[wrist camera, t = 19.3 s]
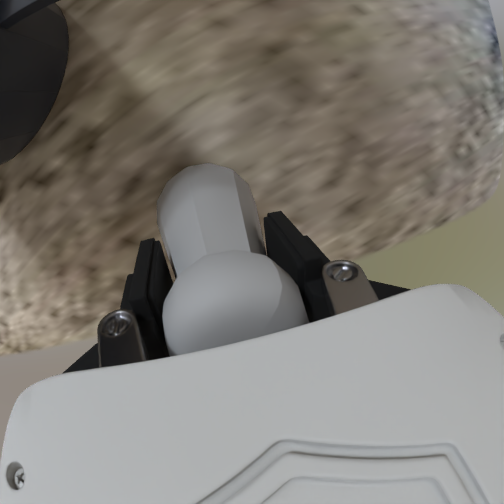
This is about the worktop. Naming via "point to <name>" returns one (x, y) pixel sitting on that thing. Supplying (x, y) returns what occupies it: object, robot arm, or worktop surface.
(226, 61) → the worktop surface
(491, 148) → the worktop surface
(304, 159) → the worktop surface
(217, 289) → the salt shaker
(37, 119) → the pot
